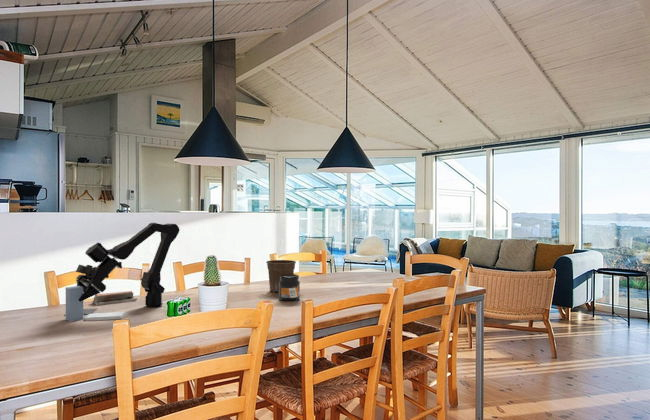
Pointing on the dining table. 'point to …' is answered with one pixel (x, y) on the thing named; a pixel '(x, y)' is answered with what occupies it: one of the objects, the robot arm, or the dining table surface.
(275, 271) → the plant pot
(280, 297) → the supplement container
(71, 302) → the stub
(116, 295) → the packaged product
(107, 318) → the strip
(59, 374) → the dining table surface
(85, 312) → the coaster
